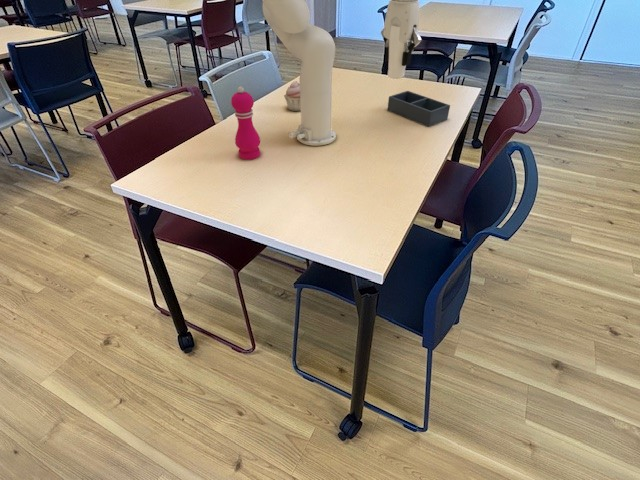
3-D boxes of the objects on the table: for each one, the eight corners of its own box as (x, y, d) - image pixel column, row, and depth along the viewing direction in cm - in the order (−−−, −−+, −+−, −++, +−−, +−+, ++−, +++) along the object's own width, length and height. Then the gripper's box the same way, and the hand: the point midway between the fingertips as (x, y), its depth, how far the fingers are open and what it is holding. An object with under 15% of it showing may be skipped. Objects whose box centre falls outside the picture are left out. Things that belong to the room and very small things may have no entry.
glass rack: (428, 126, 129) (431, 112, 125) (387, 110, 140) (388, 96, 137) (447, 119, 133) (450, 105, 130) (405, 104, 145) (407, 90, 142)
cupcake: (308, 113, 139) (308, 85, 133) (283, 113, 139) (281, 85, 133) (310, 103, 146) (309, 76, 140) (285, 103, 146) (284, 76, 140)
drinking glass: (405, 73, 126) (412, 22, 116) (407, 80, 120) (414, 27, 111) (384, 73, 126) (390, 22, 117) (385, 79, 121) (391, 26, 111)
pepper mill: (238, 162, 110) (227, 92, 97) (236, 151, 116) (225, 83, 103) (263, 158, 112) (255, 89, 99) (259, 148, 117) (252, 81, 104)
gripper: (374, -6, 113) (369, 59, 124) (419, 0, 102) (410, 71, 114) (391, -8, 116) (386, 55, 128) (437, -2, 106) (426, 66, 117)
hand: (397, 62), depth 120 cm, fingers closed on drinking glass, 6 cm apart
